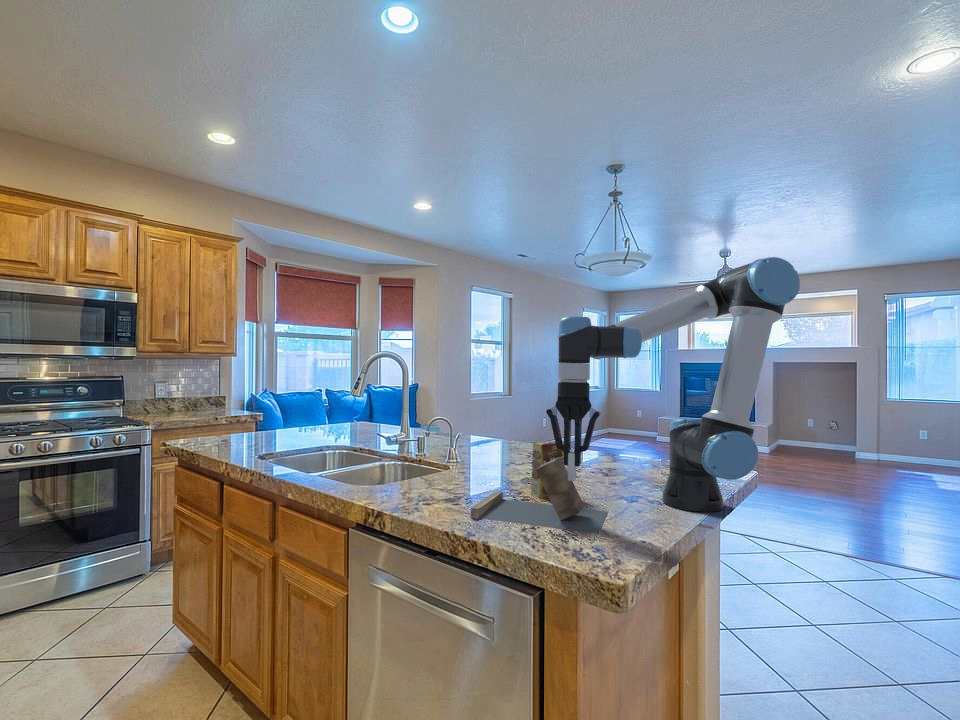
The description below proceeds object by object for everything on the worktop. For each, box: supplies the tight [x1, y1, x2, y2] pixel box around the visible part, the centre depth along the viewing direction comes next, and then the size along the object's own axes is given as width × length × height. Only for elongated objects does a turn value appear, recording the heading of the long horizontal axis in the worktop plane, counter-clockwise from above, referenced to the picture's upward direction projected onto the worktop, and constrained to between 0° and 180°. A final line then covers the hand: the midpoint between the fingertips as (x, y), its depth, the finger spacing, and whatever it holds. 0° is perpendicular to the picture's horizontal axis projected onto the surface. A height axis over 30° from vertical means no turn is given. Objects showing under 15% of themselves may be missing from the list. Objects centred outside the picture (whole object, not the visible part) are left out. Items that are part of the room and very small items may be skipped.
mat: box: [477, 498, 609, 535], centre depth 120 cm, size 28×18×1 cm, turn 69°
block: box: [536, 457, 585, 521], centre depth 119 cm, size 5×7×13 cm
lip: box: [470, 490, 504, 520], centre depth 125 cm, size 2×18×2 cm, turn 159°
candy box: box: [530, 440, 564, 499], centre depth 139 cm, size 9×4×15 cm, turn 123°
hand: (571, 479), depth 117 cm, fingers closed
